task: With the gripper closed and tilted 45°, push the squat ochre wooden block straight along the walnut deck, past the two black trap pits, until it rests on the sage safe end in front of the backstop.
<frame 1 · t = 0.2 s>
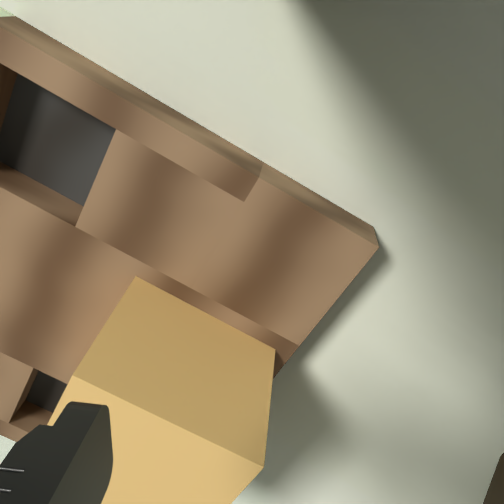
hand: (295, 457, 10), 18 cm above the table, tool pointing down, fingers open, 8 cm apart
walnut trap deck: (63, 278, 30), on the table
ochre block: (174, 364, 29), point 2 cm above the table, touching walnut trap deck
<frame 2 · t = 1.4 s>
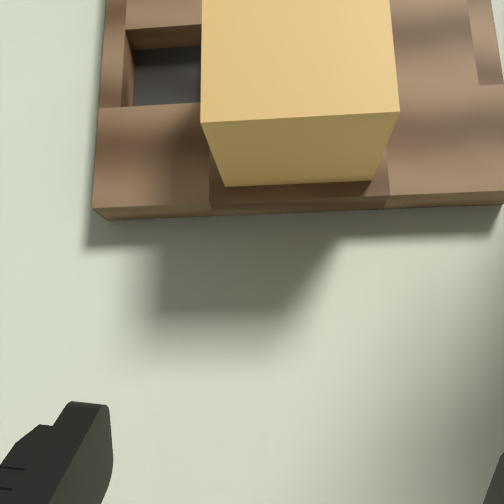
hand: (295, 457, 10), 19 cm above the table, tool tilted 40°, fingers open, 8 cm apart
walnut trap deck: (291, 30, 35), on the table
ochre block: (295, 117, 30), point 2 cm above the table, touching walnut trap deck
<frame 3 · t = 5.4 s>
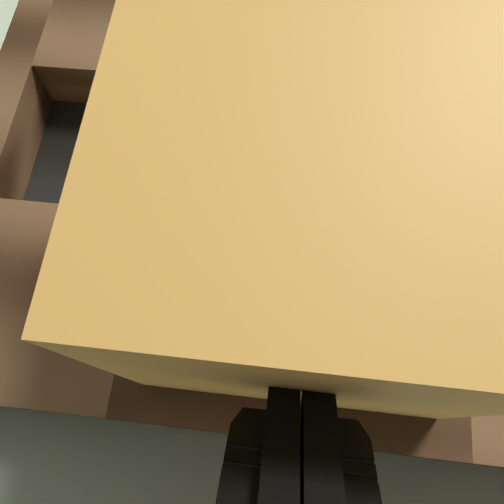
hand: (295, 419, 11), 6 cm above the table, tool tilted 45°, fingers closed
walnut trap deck: (310, 105, 21), on the table
ochre block: (299, 263, 16), point 3 cm above the table, touching gripper
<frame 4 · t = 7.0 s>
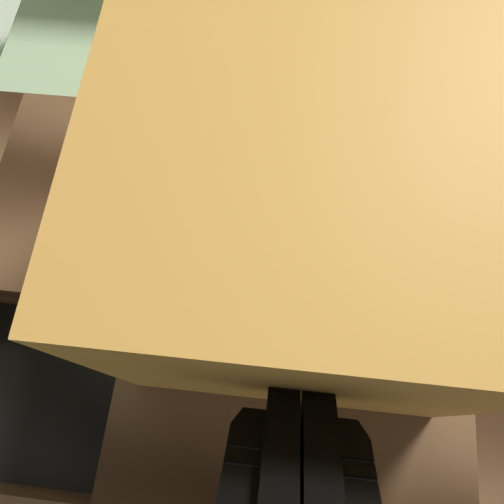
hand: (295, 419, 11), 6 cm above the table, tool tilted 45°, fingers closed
sage safe end: (313, 94, 22), on the table
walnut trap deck: (295, 309, 18), on the table
ochre block: (293, 262, 16), point 3 cm above the table, touching gripper
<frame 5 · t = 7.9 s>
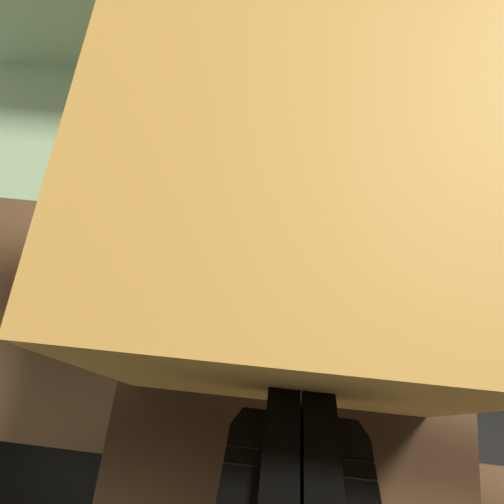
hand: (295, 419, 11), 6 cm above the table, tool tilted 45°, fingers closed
sage safe end: (307, 184, 20), on the table
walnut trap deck: (286, 439, 17), on the table
ochre block: (288, 262, 16), point 3 cm above the table, touching gripper
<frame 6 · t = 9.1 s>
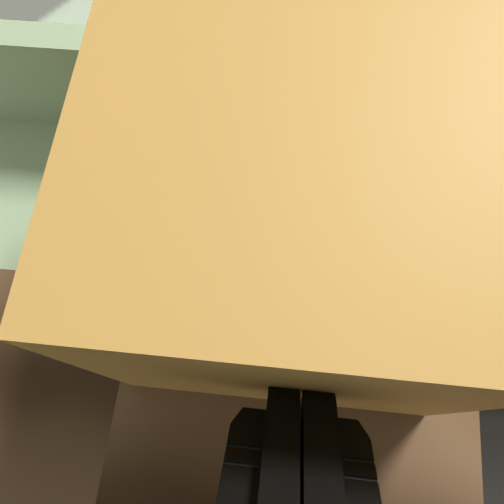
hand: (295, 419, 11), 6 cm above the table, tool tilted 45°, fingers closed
sage safe end: (304, 242, 19), on the table
ochre block: (286, 262, 16), point 2 cm above the table, touching gripper, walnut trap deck
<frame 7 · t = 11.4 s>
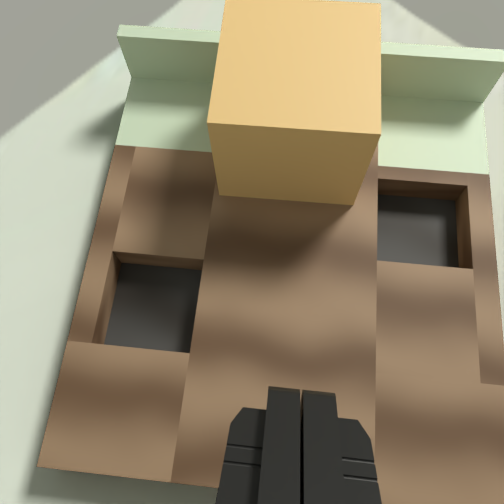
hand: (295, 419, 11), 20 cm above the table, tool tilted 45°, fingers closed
sage safe end: (298, 143, 37), on the table
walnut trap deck: (288, 265, 33), on the table
ochre block: (290, 143, 34), point 2 cm above the table, touching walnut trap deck
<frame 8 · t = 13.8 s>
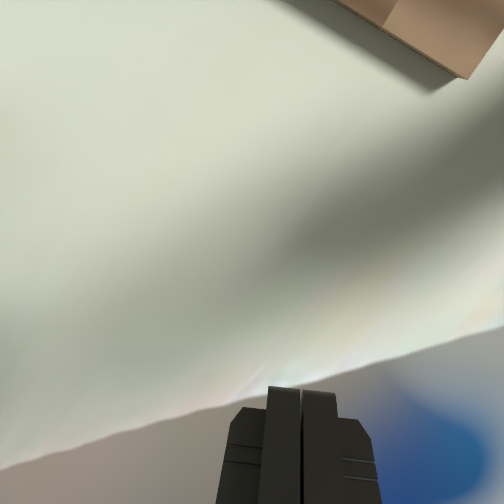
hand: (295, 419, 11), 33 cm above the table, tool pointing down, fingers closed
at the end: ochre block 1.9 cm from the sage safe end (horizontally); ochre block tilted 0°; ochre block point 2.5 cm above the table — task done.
